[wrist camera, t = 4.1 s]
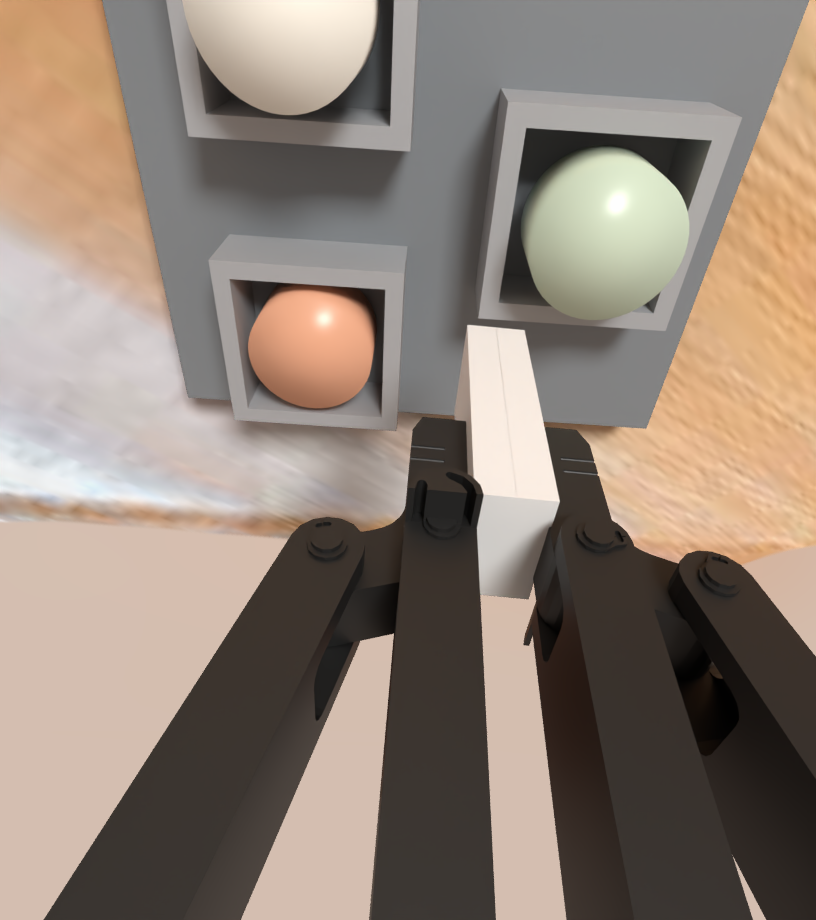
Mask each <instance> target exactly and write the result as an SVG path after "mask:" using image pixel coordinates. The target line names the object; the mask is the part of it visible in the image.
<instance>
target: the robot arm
mask: <svg viewBox="0 0 816 920" xmlns="http://www.w3.org/2000/svg"><path fill="white" fill-rule="evenodd" d="M454 415H455V420H449V419H438V418H428V417H423V418H422V419H421V420H420V421H419V423H418V424H417V425H416V426H415V427H414V429H413V433H412V443H411V454H410V464H409V474H408V485H407V496H406V506H405V510H404V512H403V513H402V515H401V516H400V517H399V518H398V519H397V520H396V521H395V522H393V523H392V524H390V525H388V526H386V527H383V528H380V529H376V530H371V531H365V532H360V531H359V530H358V529H357V528H356V526H355V525H354V524H352V523H349V522H347V521H345V520H343V519H339V518H330V517H325V518H318V519H313V520H311V521H309V522H306V523H304V524H302V525H300V526H299V527H298V529H297V530H296V531H295V532H294V533H293V534H292V535H291V536H290V538H289V539H288V541H287V543H286V544H285V546H284V547H283V549H282V550H281V552H280V553H279V555H278V557H277V558H276V560H275V561H274V563H273V564H272V566H271V567H270V569H269V571H268V572H267V574H266V575H265V577H264V578H263V580H262V581H261V583H260V585H259V586H258V588H257V589H256V591H255V592H254V594H253V595H252V597H251V599H250V600H249V602H248V603H247V605H246V606H245V608H244V609H243V611H242V612H241V614H240V616H239V617H238V619H237V621H236V622H235V623H234V625H233V627H232V628H231V630H230V631H229V633H228V634H227V636H226V637H225V639H224V641H223V642H222V644H221V645H220V647H219V648H218V650H217V651H216V653H215V654H214V656H213V658H212V659H211V661H210V662H209V664H208V665H207V667H206V668H205V670H204V672H203V673H202V675H201V676H200V678H199V679H198V681H197V682H196V684H195V686H194V687H193V689H192V690H191V692H190V693H189V695H188V696H187V698H186V700H185V701H184V703H183V704H182V706H181V707H180V709H179V710H178V712H177V713H176V715H175V717H174V718H173V720H172V721H171V723H170V724H169V726H168V728H167V729H166V731H165V732H164V734H163V735H162V737H161V738H160V740H159V742H158V743H157V745H156V746H155V748H154V749H153V751H152V752H151V754H150V756H149V757H148V759H147V760H146V762H145V763H144V765H143V766H142V768H141V769H140V771H139V772H138V774H137V776H136V777H135V779H134V780H133V782H132V783H131V785H130V786H129V788H128V790H127V791H126V793H125V794H124V796H123V797H122V799H121V801H120V802H119V804H118V805H117V807H116V808H115V810H114V811H113V813H112V814H111V816H110V818H109V819H108V821H107V822H106V824H105V825H104V827H103V829H102V830H101V832H100V833H99V835H98V836H97V838H96V839H95V841H94V842H93V844H92V846H91V847H90V849H89V850H88V852H87V853H86V855H85V857H84V858H83V860H82V861H81V863H80V864H79V866H78V867H77V869H76V870H75V872H74V873H73V875H72V877H71V878H70V880H69V881H68V883H67V884H66V886H65V887H64V889H63V891H62V892H61V894H60V895H59V897H58V898H57V900H56V901H55V903H54V905H53V906H52V908H51V909H50V911H49V912H48V914H47V916H46V917H45V919H44V920H241V918H242V915H243V913H244V911H245V908H246V906H247V904H248V902H249V899H250V897H251V894H252V892H253V890H254V888H255V885H256V883H257V881H258V878H259V876H260V874H261V871H262V869H263V867H264V864H265V862H266V860H267V857H268V855H269V852H270V850H271V848H272V846H273V843H274V841H275V839H276V836H277V834H278V832H279V829H280V827H281V825H282V822H283V820H284V818H285V815H286V813H287V811H288V808H289V806H290V804H291V801H292V799H293V797H294V795H295V792H296V790H297V788H298V785H299V783H300V781H301V778H302V776H303V774H304V771H305V769H306V767H307V764H308V762H309V760H310V757H311V755H312V753H313V750H314V748H315V746H316V743H317V741H318V739H319V736H320V734H321V731H322V729H323V727H324V725H325V722H326V720H327V718H328V715H329V713H330V711H331V708H332V706H333V704H334V701H335V699H336V697H337V694H338V692H339V690H340V687H341V685H342V683H343V680H344V678H345V676H346V674H347V671H348V669H349V667H350V664H351V662H352V659H353V657H354V655H355V653H356V650H357V647H358V645H359V643H360V641H361V640H365V639H370V638H375V637H380V636H384V635H389V634H393V633H394V640H393V651H392V663H391V675H390V686H389V698H388V709H387V721H386V732H385V744H384V755H383V767H382V778H381V790H380V801H379V813H378V824H377V835H376V847H375V858H374V870H373V883H372V894H371V904H370V917H369V920H496V914H495V894H494V874H493V873H494V872H493V853H492V831H491V811H490V790H489V770H488V748H487V729H486V728H487V727H486V706H485V686H484V665H483V645H482V624H481V602H480V595H489V596H499V597H509V598H520V599H529V596H530V593H531V590H532V586H533V583H534V588H535V595H536V604H535V607H534V609H533V613H532V615H531V619H530V622H529V624H528V627H527V630H526V633H525V638H524V645H528V646H529V644H530V641H531V638H532V636H533V641H534V649H535V658H536V666H537V675H538V683H539V691H540V700H541V708H542V716H543V724H544V734H545V742H546V750H547V759H548V767H549V776H550V784H551V792H552V800H553V809H554V818H555V826H556V834H557V843H558V851H559V860H560V868H561V875H562V885H563V893H564V902H565V909H566V918H567V920H753V919H752V916H751V912H750V909H749V906H748V903H747V900H746V897H745V894H744V890H743V887H742V884H741V881H740V878H739V875H738V871H737V868H736V865H735V862H734V859H733V857H734V858H735V861H736V862H737V864H738V866H739V868H740V870H741V872H742V874H743V876H744V878H745V880H746V882H747V884H748V885H749V887H750V889H751V891H752V893H753V895H754V897H755V899H756V901H757V903H758V905H759V906H760V909H761V910H762V912H763V914H764V916H765V918H766V920H816V656H815V655H814V654H813V653H812V651H811V650H810V649H809V648H808V646H807V645H806V644H805V643H804V641H803V640H802V639H801V638H800V636H799V635H798V634H797V632H796V631H795V630H794V629H793V627H792V626H791V625H790V624H789V623H788V621H787V620H786V619H785V617H784V616H783V615H782V613H781V612H780V611H779V610H778V609H777V607H776V606H775V605H774V603H773V602H772V601H771V600H770V598H769V597H768V596H767V594H766V593H765V592H764V591H763V590H762V588H761V587H760V586H759V584H758V583H757V582H756V581H755V579H754V578H753V577H752V575H750V574H749V573H748V572H747V571H746V570H745V569H744V568H743V567H742V566H741V565H740V564H738V563H736V562H735V561H733V560H731V559H730V558H728V557H726V556H723V555H720V554H717V553H714V552H709V551H695V552H692V553H688V554H686V555H685V556H684V557H683V558H682V560H681V561H680V562H679V564H677V563H674V562H671V561H668V560H665V559H663V558H660V557H657V556H654V555H651V554H648V553H646V552H644V551H641V550H639V549H638V548H636V547H634V544H633V542H632V540H631V538H630V536H629V535H628V533H627V532H626V531H625V530H624V529H623V528H622V527H621V526H619V525H618V524H617V523H615V522H613V521H612V519H611V516H610V513H609V509H608V506H607V502H606V499H605V496H604V492H603V489H602V485H601V482H600V479H599V476H597V474H598V472H597V469H596V465H595V463H594V458H593V455H592V452H591V448H590V445H589V444H588V442H587V441H586V440H585V439H584V438H583V437H582V436H581V435H580V434H579V432H578V431H577V430H570V429H560V428H549V427H544V423H543V418H542V413H541V408H540V403H539V398H538V393H537V389H536V384H535V379H534V374H533V369H532V364H531V359H530V355H529V350H528V345H527V340H526V335H525V330H517V329H507V328H496V327H486V326H475V325H467V330H466V337H465V344H464V351H463V357H462V364H461V371H460V377H459V384H458V391H457V398H456V404H455V411H454ZM732 855H733V856H732Z"/></svg>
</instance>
